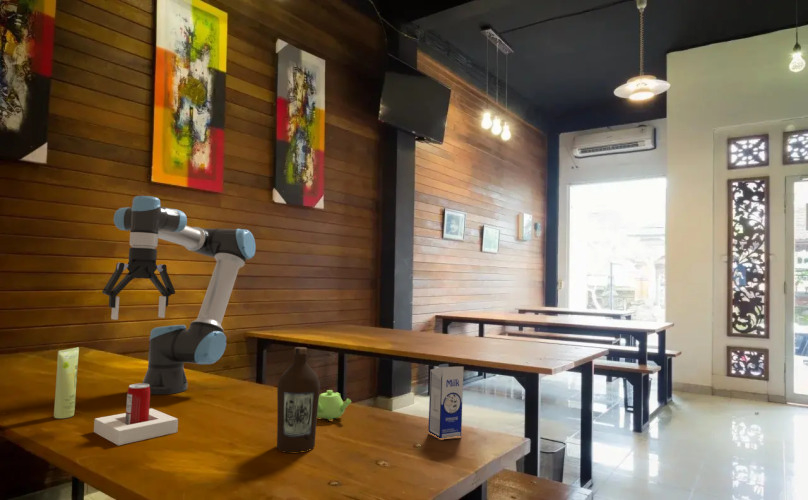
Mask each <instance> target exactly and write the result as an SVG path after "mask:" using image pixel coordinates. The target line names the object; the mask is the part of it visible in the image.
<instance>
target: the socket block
mask: <svg viewBox="0 0 808 500" xmlns="http://www.w3.org/2000/svg"><path fill="white" fill-rule="evenodd" d="M125 420H126V412H124V413H118V414H113V415H107V416H106V415H105V416H101V417H97V418H94V422H93V424H94V425H93V433H95V434H96V435H99V436H100V437H102V438H104V439H106V440H107V441H109V442H111V443H113V444H115V445H116V446H122V445H126V444H131V443H136V442H140V441H144V440H148V439H153V438H157V437H163V436H166V435H171V434H175V433H178V429H179V428H178V427H179V418H177V417H175V416H171V415H169V414H167V413H165V412H162V411H160V410H157V409H155V408H152V407H151V408H149V420H148V421H146V422H141V423H136V424H131V425H127V424H125Z"/></svg>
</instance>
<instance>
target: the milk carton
mask: <svg viewBox="0 0 808 500" xmlns="http://www.w3.org/2000/svg"><path fill="white" fill-rule="evenodd" d="M464 368H465V367H464V366H449V363H443V364H438V367H435V368H432V369H430V374H429V377H430V378H429V379H430V380H429V402H428V403H429V405H428V406H429V407H428V431H429V432H430V433H432V434H434V435H436V436H437V437H439V438H447V437H454V436H461V437H462V428H463V427H462V425H463V422H462V421H463V397H464V396H463V395H464V394H463V392H464ZM428 431H427V432H428Z"/></svg>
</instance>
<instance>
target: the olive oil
mask: <svg viewBox="0 0 808 500" xmlns="http://www.w3.org/2000/svg"><path fill="white" fill-rule="evenodd" d="M293 351H294V353H293V361H292V362H293V363H292V364H291V365H290V366H289V367H288V368H287V369H286V370H284V372H283V373H282V374H281V376H280V377H279V380H278V382H277V387H276V388H277V389H276V391H277V398H276V399H277V411H276V412H277V416H276V417H277V424H276V425H277V428H276V429H277V433H276V434H277V435H276V448H278V449H279V450H278V449H277V450H278V451H280V450H281V451H280V452H282V451H285V452H284V453H286V452H301V451H307V450H309V449H312V448H313V447H314V448H315V445H316V433H317V421H318V420H317V412H318V401H319V396H320V391H321V383H320V380H319V376H318V374H317V373H316V372H315V371H314V369H312V368H311V366H310V365H309V364H308V362H307V360H308V353H307V351H308V348H307V347H303V346H301V347H300V346H297V347H294V350H293ZM314 448H313V449H314ZM313 449H312V450H313ZM307 452H308V451H307Z"/></svg>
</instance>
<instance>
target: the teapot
mask: <svg viewBox="0 0 808 500" xmlns="http://www.w3.org/2000/svg"><path fill="white" fill-rule="evenodd" d="M351 403H352V400H351V399H350V398H346V400H345V401H343V399H342V397H341V393H339V392H334V390H332V389H328V390H326V392H323V393H319V401H318V412H317V418H322V419H327V421H328V420H332V419H333V420H334V419H336V418H338V417H340V418H341V417H342V415H344V413H345V411H346V409H347V407H348V406H349V405H351Z"/></svg>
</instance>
